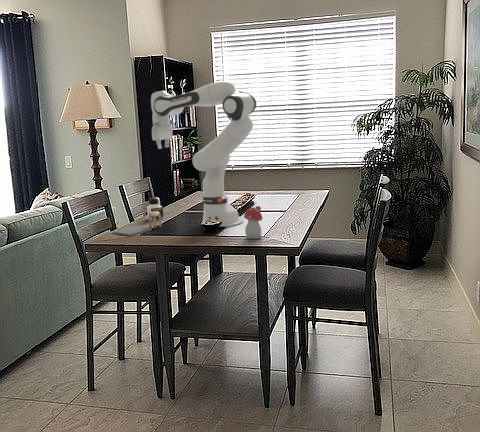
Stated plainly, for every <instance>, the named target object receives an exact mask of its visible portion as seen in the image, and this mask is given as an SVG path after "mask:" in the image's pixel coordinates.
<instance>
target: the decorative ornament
mask: <svg viewBox="0 0 480 432" xmlns="http://www.w3.org/2000/svg"><path fill="white" fill-rule="evenodd" d="M261 210H262V208H261V206H259V205H256V206H255V207H250V208H248V209H246V211H245V212H244V216H243V218H244V219H246V220H247V224H246V226H245V231H244V232H245V236H246V238H247V239H249V240H258V239H261V238H262V228H261V224H260V221H262V220H263V216H262V213H261Z"/></svg>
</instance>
